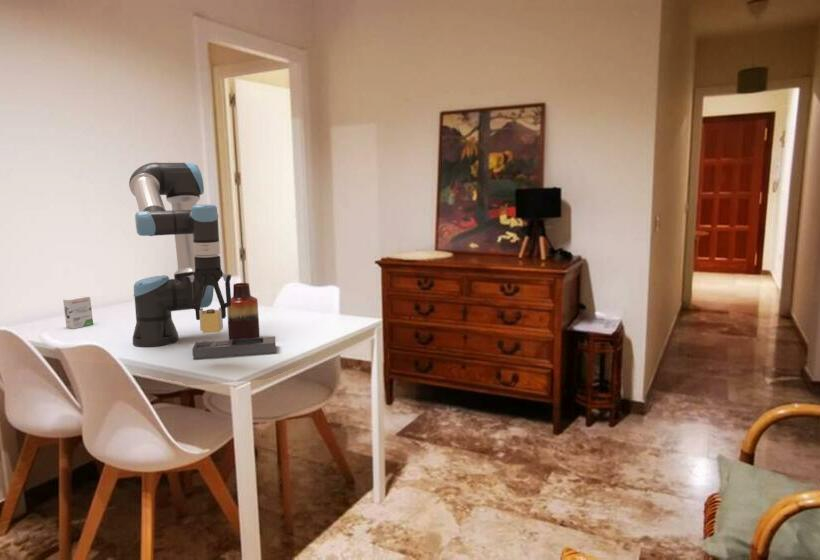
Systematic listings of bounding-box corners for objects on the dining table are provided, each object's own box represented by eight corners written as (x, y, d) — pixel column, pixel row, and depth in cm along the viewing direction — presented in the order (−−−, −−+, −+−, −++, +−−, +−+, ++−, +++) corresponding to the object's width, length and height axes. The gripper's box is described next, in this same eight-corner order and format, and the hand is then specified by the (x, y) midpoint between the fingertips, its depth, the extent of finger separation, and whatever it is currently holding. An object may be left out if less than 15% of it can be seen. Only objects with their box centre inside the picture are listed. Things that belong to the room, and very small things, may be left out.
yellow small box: (202, 333, 177) (201, 312, 176) (204, 329, 182) (203, 308, 181) (219, 332, 178) (218, 311, 177) (220, 328, 183) (219, 307, 182)
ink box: (87, 323, 238) (84, 295, 236) (93, 324, 236) (91, 296, 234) (65, 327, 231) (62, 298, 229) (72, 329, 228) (69, 300, 227)
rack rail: (193, 359, 185) (192, 348, 184) (196, 351, 194) (195, 341, 193) (275, 353, 191) (275, 342, 190) (275, 346, 200) (275, 336, 199)
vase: (223, 339, 210) (220, 284, 207) (250, 333, 218) (247, 280, 214) (238, 344, 202) (234, 287, 199) (265, 338, 210) (262, 283, 207)
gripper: (173, 258, 170) (179, 334, 174) (237, 256, 174) (241, 330, 179) (177, 254, 177) (183, 327, 182) (238, 253, 182) (242, 324, 186)
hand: (211, 329), depth 180 cm, fingers closed on yellow small box, 5 cm apart
